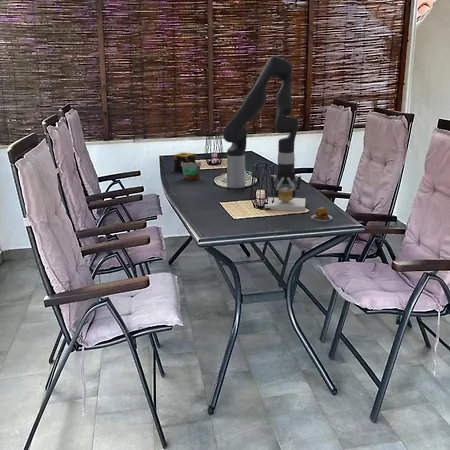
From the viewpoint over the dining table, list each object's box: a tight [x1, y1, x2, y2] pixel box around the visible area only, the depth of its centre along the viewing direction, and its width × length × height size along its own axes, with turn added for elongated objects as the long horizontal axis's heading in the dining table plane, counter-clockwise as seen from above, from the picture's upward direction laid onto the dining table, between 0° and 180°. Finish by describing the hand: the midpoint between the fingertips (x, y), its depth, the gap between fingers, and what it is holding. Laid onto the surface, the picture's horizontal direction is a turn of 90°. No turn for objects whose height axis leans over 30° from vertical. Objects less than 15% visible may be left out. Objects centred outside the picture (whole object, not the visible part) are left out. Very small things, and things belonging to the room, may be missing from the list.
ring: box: [278, 187, 293, 201], centre depth 232 cm, size 6×6×4 cm
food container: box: [181, 161, 202, 182], centre depth 287 cm, size 12×6×10 cm, turn 68°
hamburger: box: [310, 206, 333, 222], centre depth 214 cm, size 12×12×6 cm
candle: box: [173, 152, 197, 172], centre depth 313 cm, size 10×10×10 cm
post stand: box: [264, 186, 306, 212], centre depth 232 cm, size 18×14×9 cm
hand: (285, 197), depth 232 cm, fingers closed on ring, 6 cm apart
